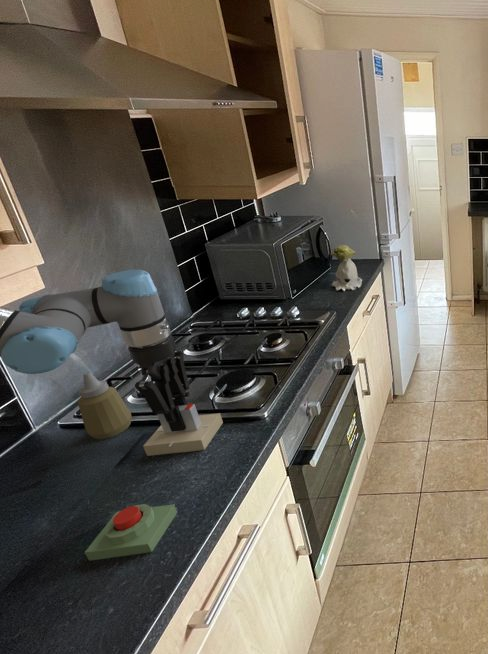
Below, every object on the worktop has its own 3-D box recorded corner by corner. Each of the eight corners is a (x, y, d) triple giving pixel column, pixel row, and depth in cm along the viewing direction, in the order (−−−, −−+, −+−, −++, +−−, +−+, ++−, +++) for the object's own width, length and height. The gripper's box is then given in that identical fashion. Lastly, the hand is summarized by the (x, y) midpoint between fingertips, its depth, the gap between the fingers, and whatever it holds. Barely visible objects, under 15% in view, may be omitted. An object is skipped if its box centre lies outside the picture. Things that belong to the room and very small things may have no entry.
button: (111, 532, 74) (107, 525, 74) (125, 514, 78) (121, 507, 77) (133, 529, 75) (130, 522, 74) (146, 511, 78) (143, 504, 77)
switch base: (144, 459, 94) (139, 449, 93) (173, 424, 104) (169, 414, 103) (202, 453, 96) (198, 443, 94) (225, 419, 106) (222, 409, 105)
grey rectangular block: (164, 433, 97) (156, 412, 95) (169, 427, 99) (161, 406, 97) (197, 430, 98) (189, 408, 96) (201, 424, 100) (194, 403, 98)
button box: (88, 560, 73) (80, 545, 72) (120, 519, 80) (113, 504, 79) (151, 552, 75) (144, 537, 73) (177, 512, 82) (171, 497, 80)
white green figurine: (357, 277, 192) (351, 239, 185) (366, 286, 182) (361, 246, 176) (330, 283, 185) (323, 244, 178) (339, 293, 176) (332, 252, 169)
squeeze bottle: (130, 418, 106) (105, 358, 99) (141, 431, 102) (115, 370, 95) (87, 437, 100) (57, 375, 93) (97, 452, 96) (66, 389, 89)
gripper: (146, 358, 83) (181, 448, 92) (188, 321, 97) (215, 403, 106) (104, 361, 82) (143, 452, 91) (153, 324, 96) (182, 406, 105)
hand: (182, 425), depth 98 cm, fingers closed on grey rectangular block, 2 cm apart
